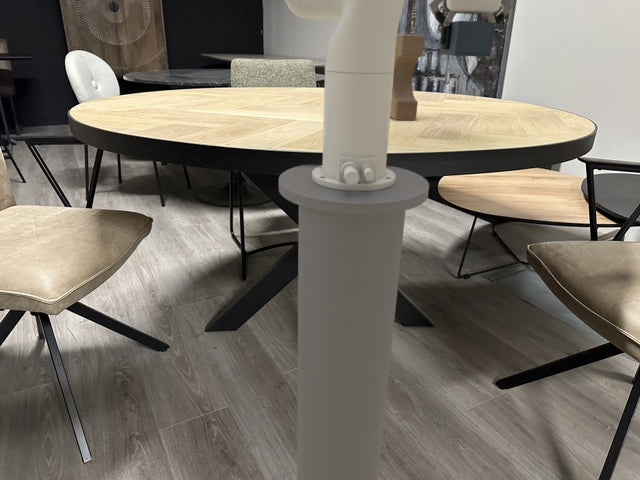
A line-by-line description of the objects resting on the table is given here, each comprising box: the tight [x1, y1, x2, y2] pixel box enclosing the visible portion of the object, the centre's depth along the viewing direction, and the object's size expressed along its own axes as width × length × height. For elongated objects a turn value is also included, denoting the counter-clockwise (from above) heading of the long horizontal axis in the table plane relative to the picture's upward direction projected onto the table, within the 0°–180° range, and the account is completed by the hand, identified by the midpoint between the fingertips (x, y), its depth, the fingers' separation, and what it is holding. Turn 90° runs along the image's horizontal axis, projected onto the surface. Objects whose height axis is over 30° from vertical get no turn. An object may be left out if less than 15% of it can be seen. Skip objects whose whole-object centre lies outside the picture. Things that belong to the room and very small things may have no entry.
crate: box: [438, 20, 497, 58], centre depth 93 cm, size 11×7×6 cm, turn 1°
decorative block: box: [390, 33, 426, 121], centre depth 120 cm, size 11×6×20 cm, turn 8°
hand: (464, 48), depth 94 cm, fingers closed on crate, 7 cm apart
